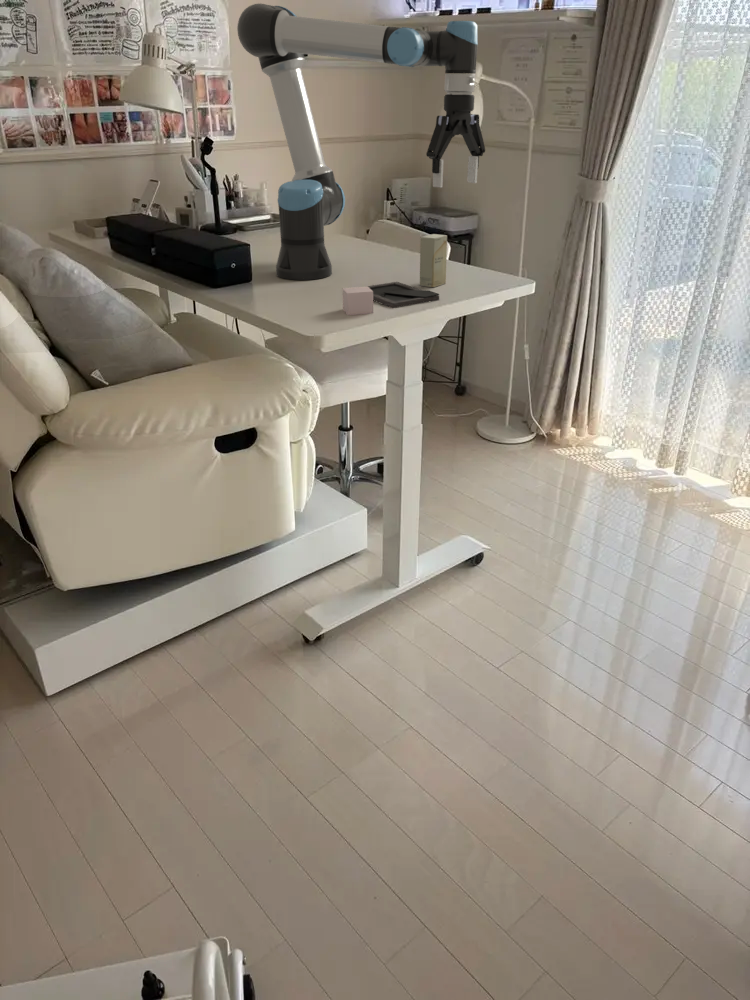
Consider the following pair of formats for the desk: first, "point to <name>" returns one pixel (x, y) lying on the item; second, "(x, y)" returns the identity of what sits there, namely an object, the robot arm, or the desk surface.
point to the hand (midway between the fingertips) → (455, 184)
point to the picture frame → (401, 294)
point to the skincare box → (433, 260)
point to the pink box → (357, 300)
